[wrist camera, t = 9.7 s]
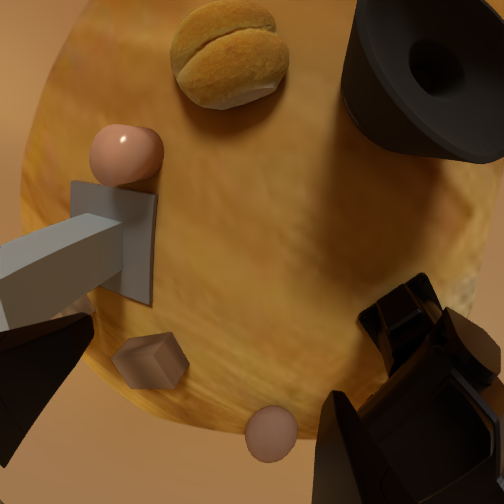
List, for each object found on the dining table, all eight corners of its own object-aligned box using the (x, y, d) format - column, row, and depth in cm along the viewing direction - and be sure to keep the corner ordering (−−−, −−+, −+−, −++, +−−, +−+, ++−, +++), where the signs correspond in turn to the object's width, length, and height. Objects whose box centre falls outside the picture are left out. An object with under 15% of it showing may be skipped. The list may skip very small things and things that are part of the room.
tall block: (122, 222, 22) (-4, 281, 10) (121, 269, 23) (15, 345, 11) (86, 212, 22) (-30, 259, 10) (87, 257, 24) (-15, 317, 12)
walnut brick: (172, 330, 25) (153, 355, 22) (190, 362, 26) (174, 388, 23) (130, 337, 27) (110, 358, 23) (147, 366, 28) (130, 388, 24)
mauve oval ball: (266, 426, 27) (255, 473, 21) (243, 400, 26) (227, 450, 20) (307, 417, 26) (302, 468, 19) (287, 389, 25) (278, 444, 18)
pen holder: (346, 24, 14) (365, -57, 5) (457, 71, 13) (531, 35, 4) (321, 134, 17) (335, 105, 8) (439, 178, 16) (525, 200, 7)
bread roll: (262, -2, 14) (252, -28, 11) (302, 88, 17) (301, 70, 13) (167, 36, 17) (143, 19, 13) (195, 125, 19) (171, 118, 15)
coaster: (158, 194, 21) (154, 195, 20) (152, 302, 24) (149, 305, 24) (75, 180, 22) (71, 181, 22) (77, 273, 26) (73, 275, 25)
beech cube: (95, 310, 27) (71, 330, 23) (77, 318, 28) (54, 336, 24) (76, 275, 26) (48, 291, 22) (59, 285, 27) (34, 301, 23)
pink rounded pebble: (174, 154, 20) (146, 154, 16) (139, 191, 21) (109, 198, 18) (144, 117, 19) (114, 111, 15) (112, 154, 21) (81, 156, 17)
